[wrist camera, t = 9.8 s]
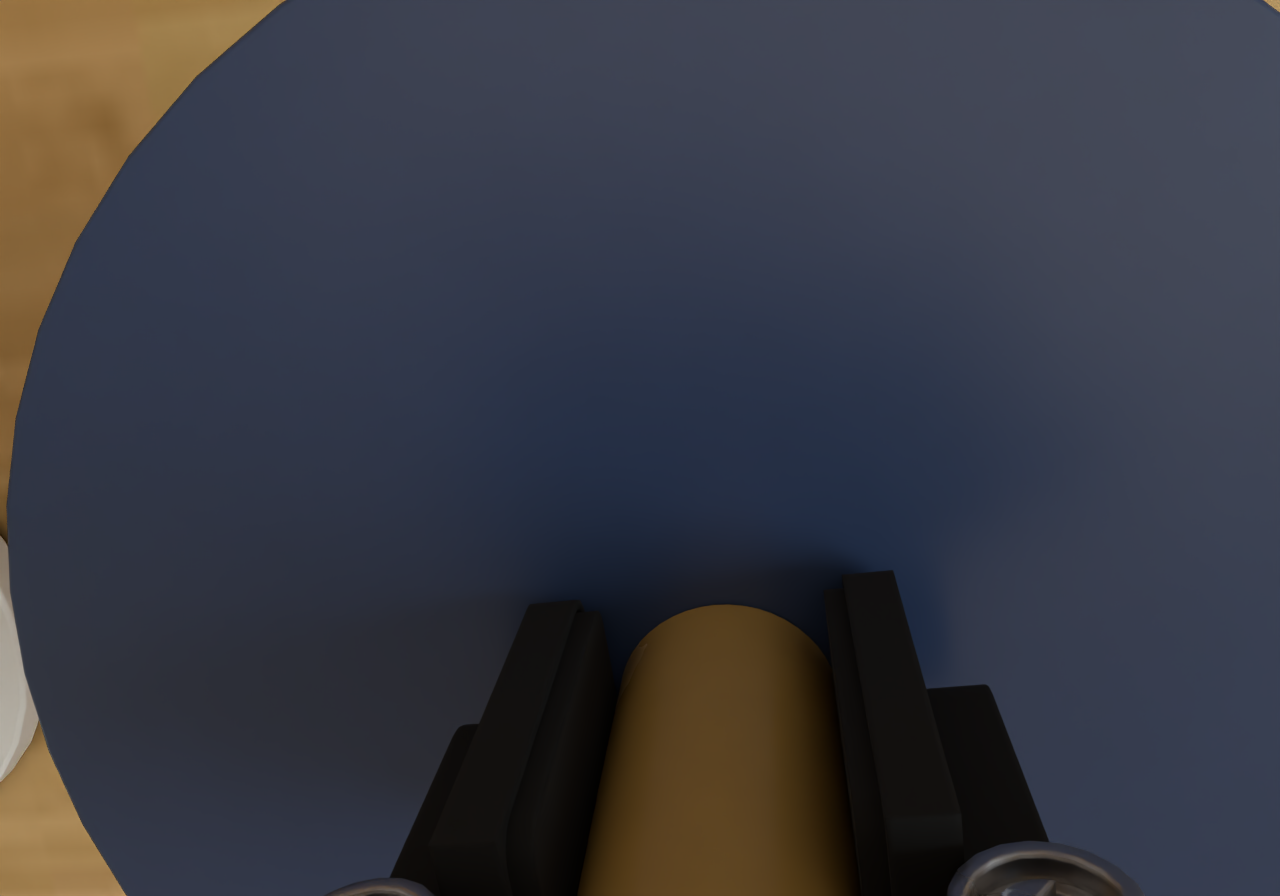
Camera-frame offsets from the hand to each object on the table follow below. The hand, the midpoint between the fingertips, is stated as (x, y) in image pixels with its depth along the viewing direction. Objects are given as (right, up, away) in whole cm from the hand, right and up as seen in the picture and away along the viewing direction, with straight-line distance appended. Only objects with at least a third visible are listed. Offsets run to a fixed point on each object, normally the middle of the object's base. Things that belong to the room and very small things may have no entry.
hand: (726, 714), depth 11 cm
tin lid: (0, 0, +1) cm, 1 cm away
